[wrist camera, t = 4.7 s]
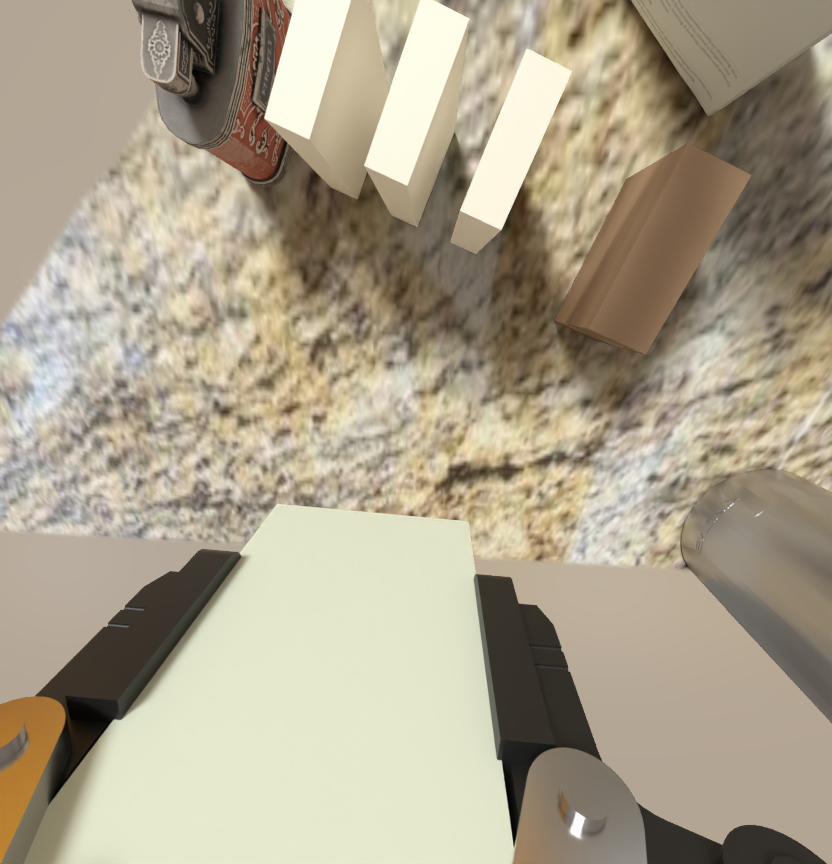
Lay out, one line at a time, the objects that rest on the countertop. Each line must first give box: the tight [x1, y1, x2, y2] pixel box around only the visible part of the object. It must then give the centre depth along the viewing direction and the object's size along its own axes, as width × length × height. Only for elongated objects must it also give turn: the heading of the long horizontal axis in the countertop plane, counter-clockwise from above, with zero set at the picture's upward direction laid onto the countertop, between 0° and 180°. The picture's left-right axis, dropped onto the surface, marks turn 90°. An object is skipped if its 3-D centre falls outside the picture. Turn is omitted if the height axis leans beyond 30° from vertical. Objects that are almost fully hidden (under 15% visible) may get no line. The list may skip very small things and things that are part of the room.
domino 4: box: [450, 49, 572, 254], centre depth 19 cm, size 2×5×10 cm, turn 157°
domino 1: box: [264, 0, 389, 200], centre depth 19 cm, size 2×5×10 cm, turn 157°
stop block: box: [554, 143, 751, 355], centre depth 22 cm, size 3×8×6 cm, turn 157°
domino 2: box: [24, 504, 514, 864], centre depth 7 cm, size 2×5×10 cm, turn 85°
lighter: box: [132, 0, 294, 187], centre depth 18 cm, size 8×3×10 cm, turn 167°
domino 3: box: [364, 0, 470, 227], centre depth 19 cm, size 2×5×10 cm, turn 157°
